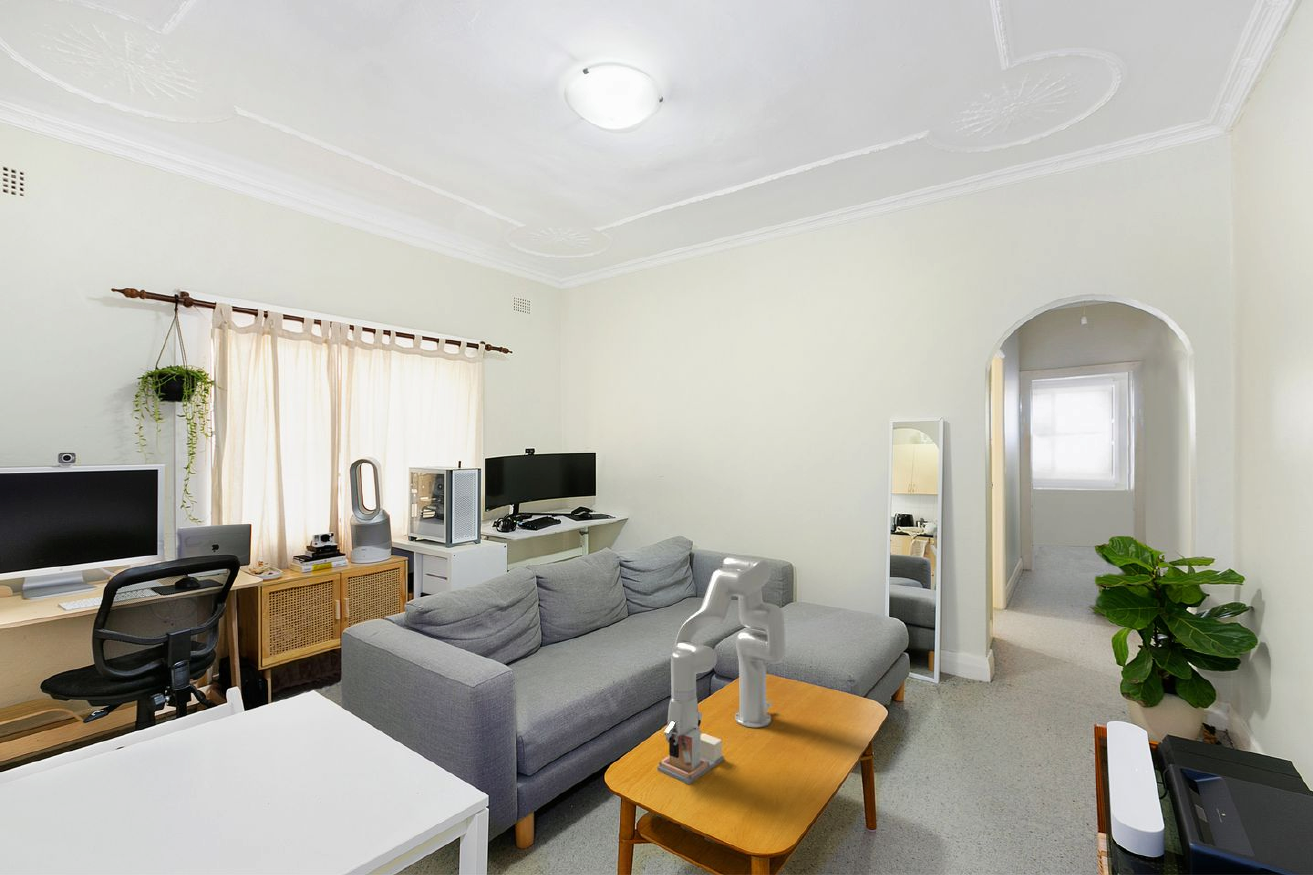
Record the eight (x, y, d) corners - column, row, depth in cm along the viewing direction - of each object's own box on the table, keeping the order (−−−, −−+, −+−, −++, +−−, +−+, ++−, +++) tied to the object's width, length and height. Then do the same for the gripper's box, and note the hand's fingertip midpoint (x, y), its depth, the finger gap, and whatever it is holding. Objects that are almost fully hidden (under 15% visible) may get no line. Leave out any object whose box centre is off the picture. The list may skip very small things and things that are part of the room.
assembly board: (693, 746, 192) (692, 728, 192) (723, 759, 184) (723, 739, 184) (657, 769, 178) (657, 749, 178) (689, 784, 171) (688, 763, 171)
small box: (668, 765, 179) (668, 730, 179) (678, 757, 183) (677, 723, 184) (692, 773, 174) (692, 737, 175) (701, 764, 179) (700, 729, 179)
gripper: (690, 681, 188) (691, 735, 188) (655, 698, 175) (656, 757, 175) (710, 687, 183) (710, 742, 183) (675, 705, 170) (676, 766, 170)
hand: (684, 749), depth 179 cm, fingers open, 9 cm apart
